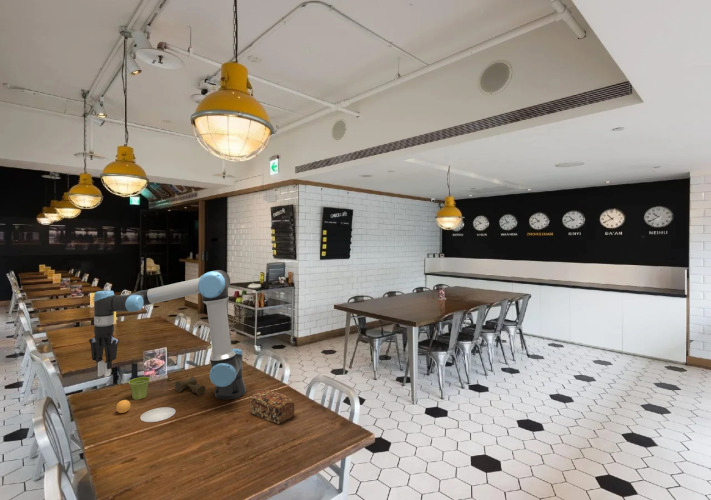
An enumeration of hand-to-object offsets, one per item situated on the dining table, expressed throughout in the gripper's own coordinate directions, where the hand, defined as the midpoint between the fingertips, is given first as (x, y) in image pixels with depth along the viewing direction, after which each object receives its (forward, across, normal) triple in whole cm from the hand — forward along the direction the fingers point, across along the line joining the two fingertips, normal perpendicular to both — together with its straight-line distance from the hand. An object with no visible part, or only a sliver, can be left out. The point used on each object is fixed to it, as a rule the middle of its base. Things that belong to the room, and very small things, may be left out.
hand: (104, 375), depth 168 cm
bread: (+17, +78, +6) cm, 80 cm away
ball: (+14, +10, 0) cm, 17 cm away
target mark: (+17, +26, 0) cm, 31 cm away
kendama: (+17, +26, +27) cm, 41 cm away
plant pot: (+17, +6, +16) cm, 24 cm away
